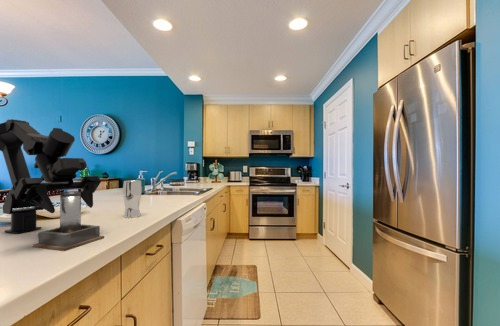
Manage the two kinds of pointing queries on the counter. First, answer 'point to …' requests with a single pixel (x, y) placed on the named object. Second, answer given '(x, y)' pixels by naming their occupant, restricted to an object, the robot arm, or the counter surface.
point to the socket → (68, 238)
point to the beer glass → (132, 198)
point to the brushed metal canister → (70, 211)
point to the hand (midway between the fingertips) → (73, 209)
